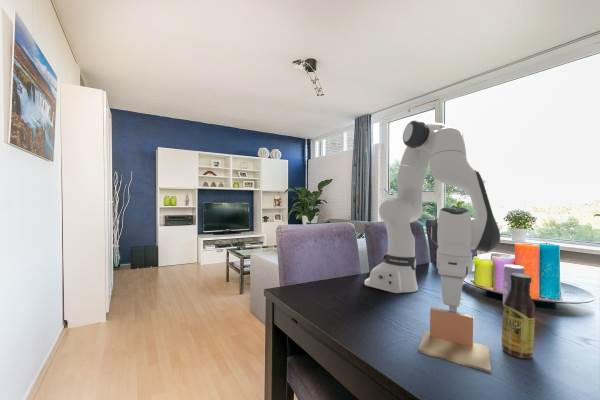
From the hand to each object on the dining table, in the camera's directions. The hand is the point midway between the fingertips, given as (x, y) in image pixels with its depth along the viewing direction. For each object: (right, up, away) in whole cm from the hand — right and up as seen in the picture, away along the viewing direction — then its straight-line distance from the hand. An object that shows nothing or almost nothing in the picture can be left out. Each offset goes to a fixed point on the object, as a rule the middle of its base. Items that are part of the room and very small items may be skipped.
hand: (453, 312), depth 78 cm
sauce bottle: (+11, -7, -10) cm, 16 cm away
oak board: (-5, -6, -9) cm, 12 cm away
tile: (-3, -6, -5) cm, 8 cm away
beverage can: (+33, -7, +20) cm, 39 cm away
